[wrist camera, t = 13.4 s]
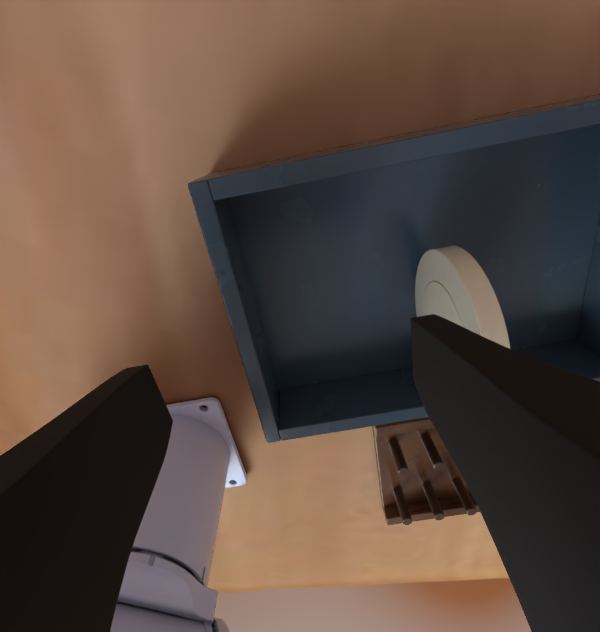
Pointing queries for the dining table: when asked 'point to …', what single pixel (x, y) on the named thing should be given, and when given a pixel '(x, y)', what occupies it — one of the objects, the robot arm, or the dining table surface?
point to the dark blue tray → (403, 257)
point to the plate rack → (418, 474)
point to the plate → (459, 293)
